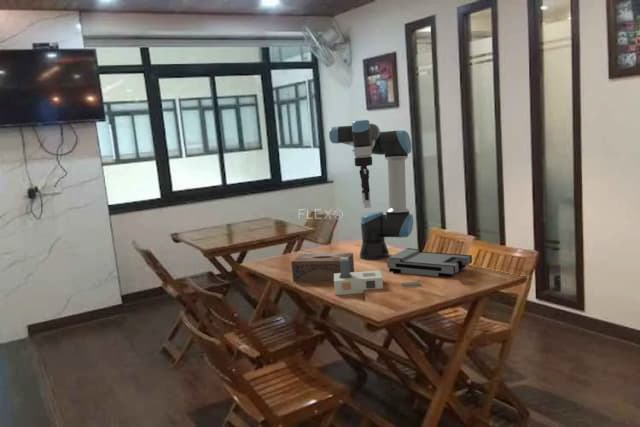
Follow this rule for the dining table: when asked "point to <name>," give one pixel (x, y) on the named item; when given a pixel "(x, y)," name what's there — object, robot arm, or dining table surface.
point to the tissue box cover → (318, 266)
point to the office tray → (427, 263)
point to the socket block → (357, 282)
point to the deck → (411, 284)
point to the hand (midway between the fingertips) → (366, 205)
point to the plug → (344, 267)
